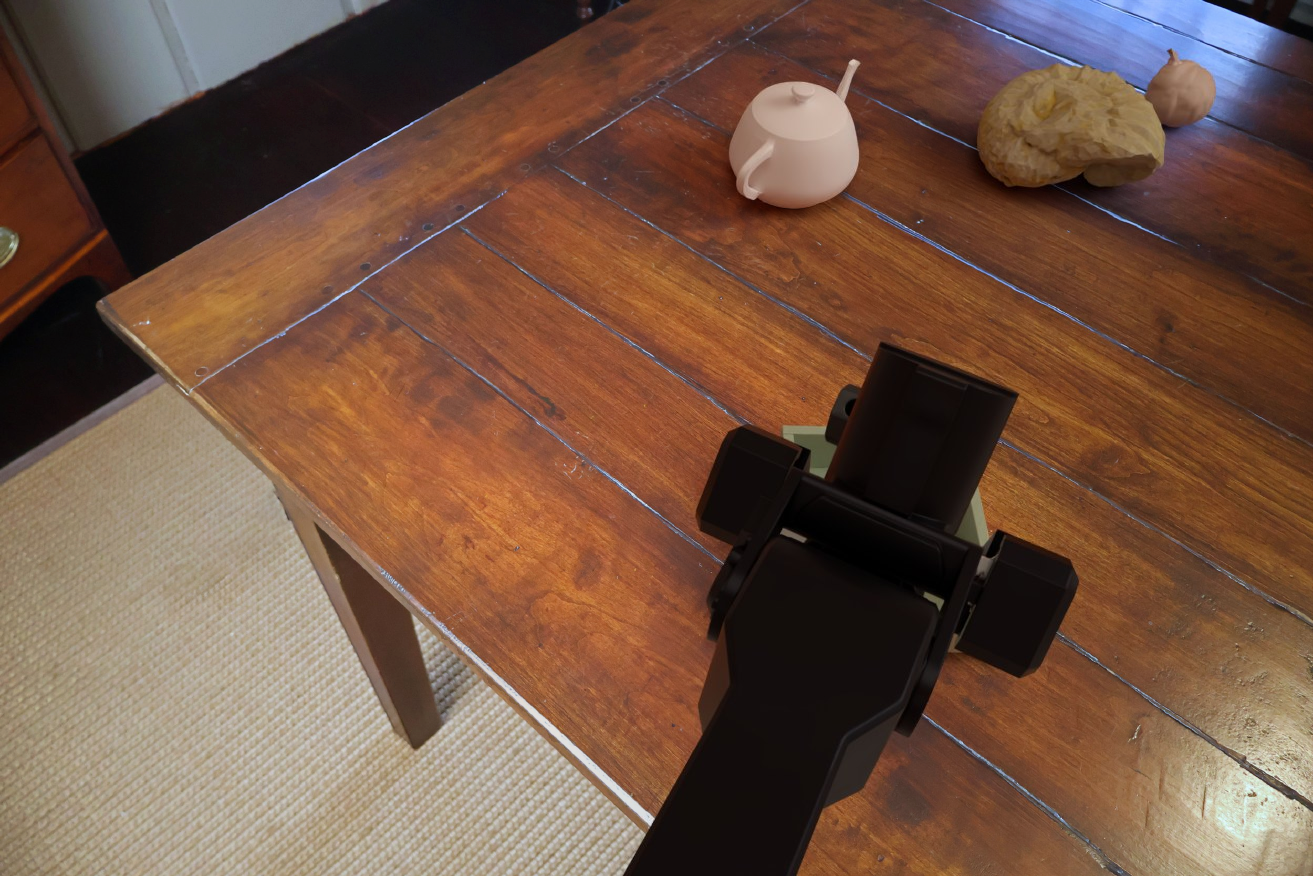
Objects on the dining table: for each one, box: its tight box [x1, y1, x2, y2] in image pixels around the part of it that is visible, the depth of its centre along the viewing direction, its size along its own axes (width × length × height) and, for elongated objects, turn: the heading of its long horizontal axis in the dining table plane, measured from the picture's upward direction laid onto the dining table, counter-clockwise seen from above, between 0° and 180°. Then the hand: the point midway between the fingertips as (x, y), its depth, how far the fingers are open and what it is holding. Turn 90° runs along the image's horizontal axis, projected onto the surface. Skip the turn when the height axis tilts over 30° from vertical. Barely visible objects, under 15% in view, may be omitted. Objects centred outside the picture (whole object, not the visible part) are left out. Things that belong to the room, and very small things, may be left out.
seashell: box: [976, 62, 1166, 188], centre depth 92 cm, size 17×11×15 cm
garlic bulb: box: [1143, 47, 1217, 128], centre depth 98 cm, size 7×6×8 cm
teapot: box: [728, 58, 861, 209], centre depth 91 cm, size 20×12×10 cm, turn 142°
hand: (892, 516), depth 58 cm, fingers open, 9 cm apart
